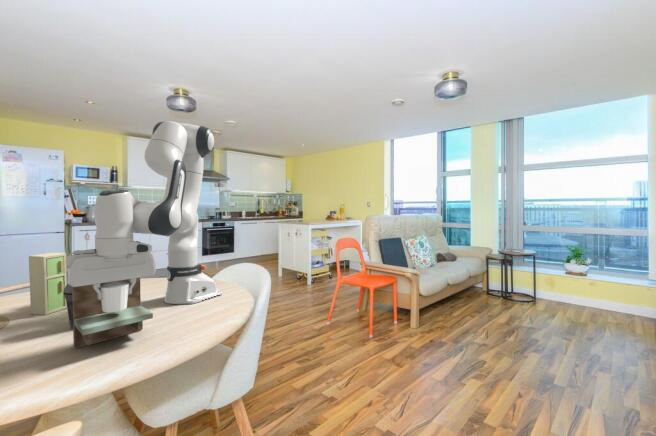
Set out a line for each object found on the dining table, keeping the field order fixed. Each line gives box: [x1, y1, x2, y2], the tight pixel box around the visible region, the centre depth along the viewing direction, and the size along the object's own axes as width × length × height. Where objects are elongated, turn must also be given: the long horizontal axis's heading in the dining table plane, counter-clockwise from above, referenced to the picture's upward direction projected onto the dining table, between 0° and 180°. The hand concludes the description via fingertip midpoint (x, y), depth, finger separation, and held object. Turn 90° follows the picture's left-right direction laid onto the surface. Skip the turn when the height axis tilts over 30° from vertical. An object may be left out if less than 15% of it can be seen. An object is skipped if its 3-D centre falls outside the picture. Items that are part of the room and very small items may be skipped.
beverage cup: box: [64, 283, 73, 331], centre depth 97 cm, size 7×7×20 cm
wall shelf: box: [72, 277, 154, 349], centre depth 86 cm, size 16×12×22 cm
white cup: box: [100, 282, 129, 312], centre depth 86 cm, size 7×7×7 cm
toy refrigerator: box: [28, 252, 68, 316], centre depth 111 cm, size 8×7×21 cm
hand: (114, 296), depth 86 cm, fingers closed on white cup, 5 cm apart
